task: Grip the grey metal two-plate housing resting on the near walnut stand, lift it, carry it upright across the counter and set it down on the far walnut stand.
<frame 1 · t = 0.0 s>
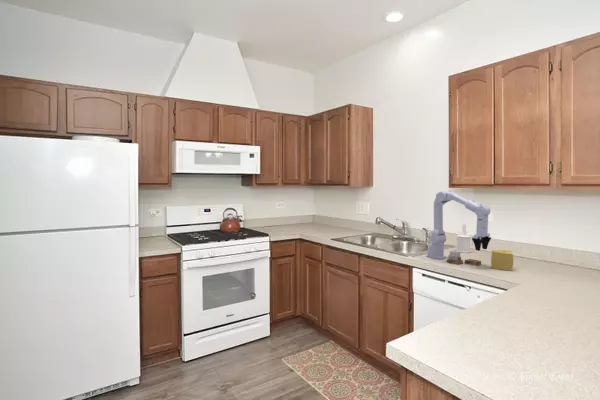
hand: (481, 249, 193), 10 cm above the countertop, tool pointing down, fingers open, 7 cm apart
housing: (454, 259, 202), point 2 cm above the countertop, touching stand near
stand near: (454, 262, 203), on the countertop
cheese: (501, 268, 192), on the countertop
white bottle: (464, 251, 237), on the countertop
stand far: (472, 263, 201), on the countertop
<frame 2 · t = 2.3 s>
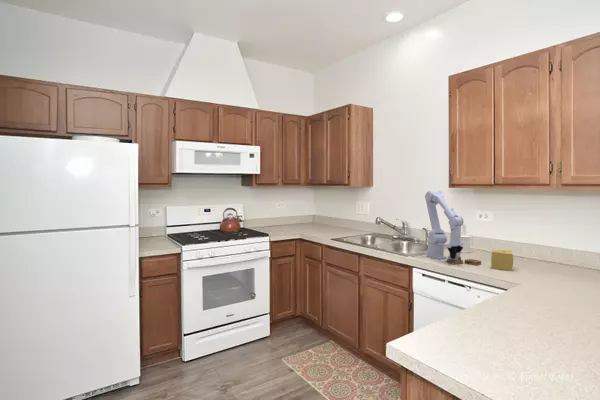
hand: (454, 258, 202), 3 cm above the countertop, tool pointing down, fingers closed on housing, 4 cm apart
housing: (454, 259, 202), point 2 cm above the countertop, touching gripper, stand near
everything else where it was.
when the fingers open (4 cm above the countertop, at t = 7.0 s): housing stays where it is, resting on stand far.
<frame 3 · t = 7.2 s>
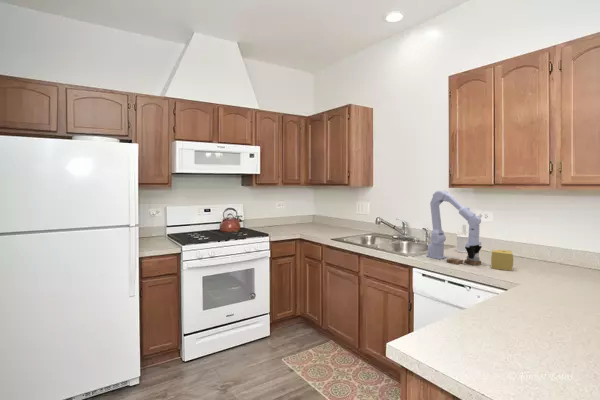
hand: (472, 257, 201), 4 cm above the countertop, tool pointing down, fingers open, 5 cm apart
housing: (472, 260, 201), point 2 cm above the countertop, touching stand far
everything else where it was.
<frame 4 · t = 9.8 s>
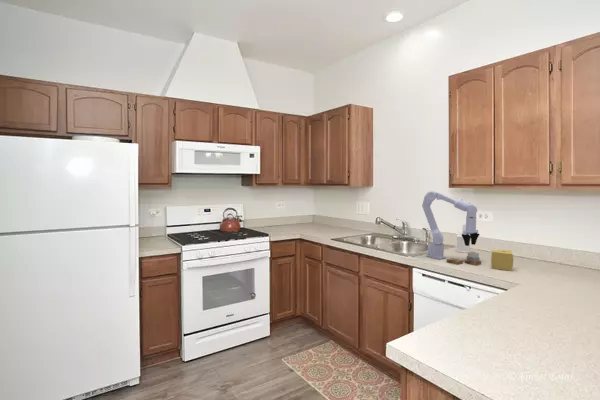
hand: (470, 245, 209), 10 cm above the countertop, tool pointing down, fingers open, 7 cm apart
nothing on the countertop moved.
at the end: housing 0.1 cm off-centre on the stand far, point 2.0 cm above the stand far's base; housing tilted 0°; the gripper is holding nothing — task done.
